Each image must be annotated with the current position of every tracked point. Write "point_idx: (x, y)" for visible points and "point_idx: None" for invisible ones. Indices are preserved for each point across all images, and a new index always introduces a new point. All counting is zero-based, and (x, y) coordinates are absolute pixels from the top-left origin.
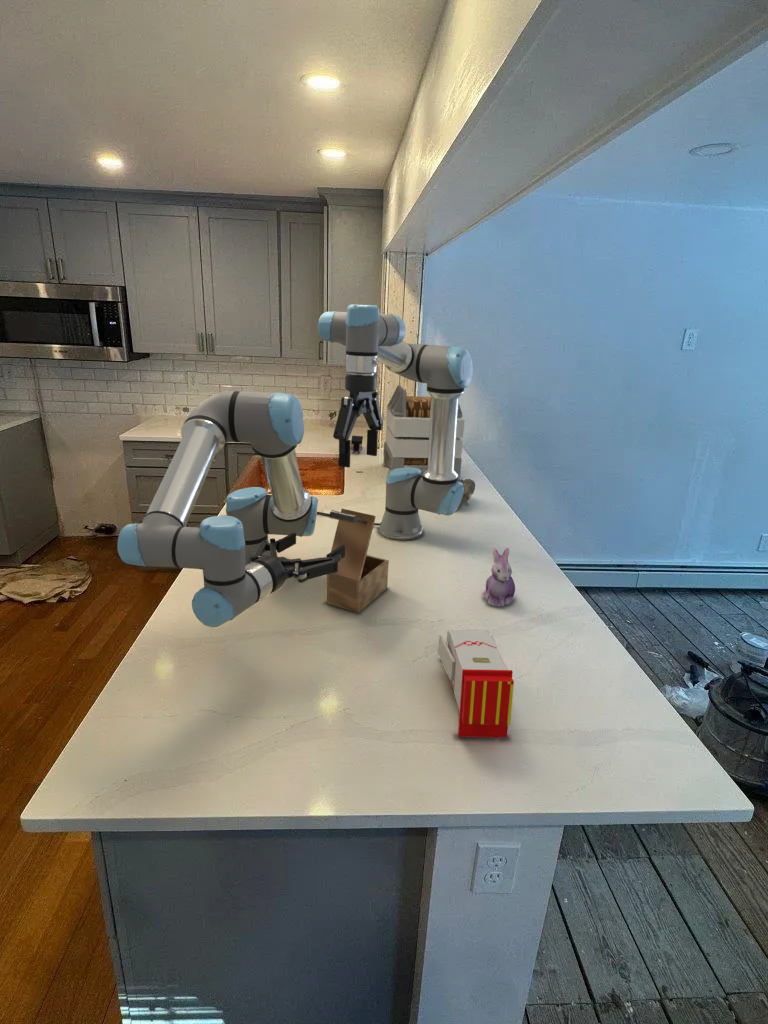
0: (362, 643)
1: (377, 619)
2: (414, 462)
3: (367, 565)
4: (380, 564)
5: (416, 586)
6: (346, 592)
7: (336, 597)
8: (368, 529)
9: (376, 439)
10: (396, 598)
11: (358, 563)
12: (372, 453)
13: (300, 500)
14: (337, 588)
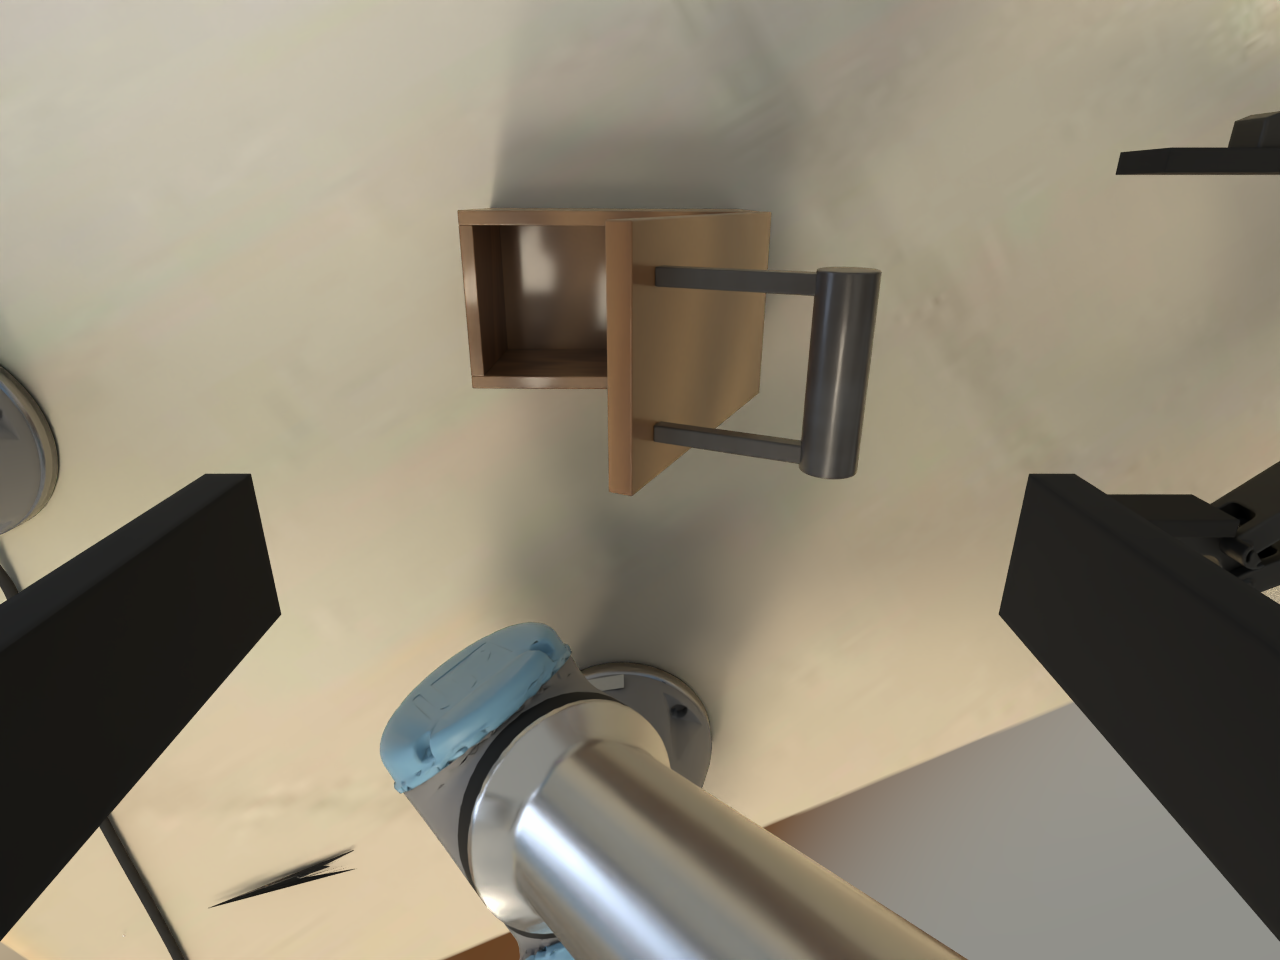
0: (935, 71)
1: (744, 111)
2: None
3: (490, 319)
4: (524, 223)
5: (389, 94)
6: None
7: None
8: (676, 236)
9: (31, 621)
10: (543, 125)
11: (746, 238)
12: (242, 542)
13: (622, 764)
14: None
